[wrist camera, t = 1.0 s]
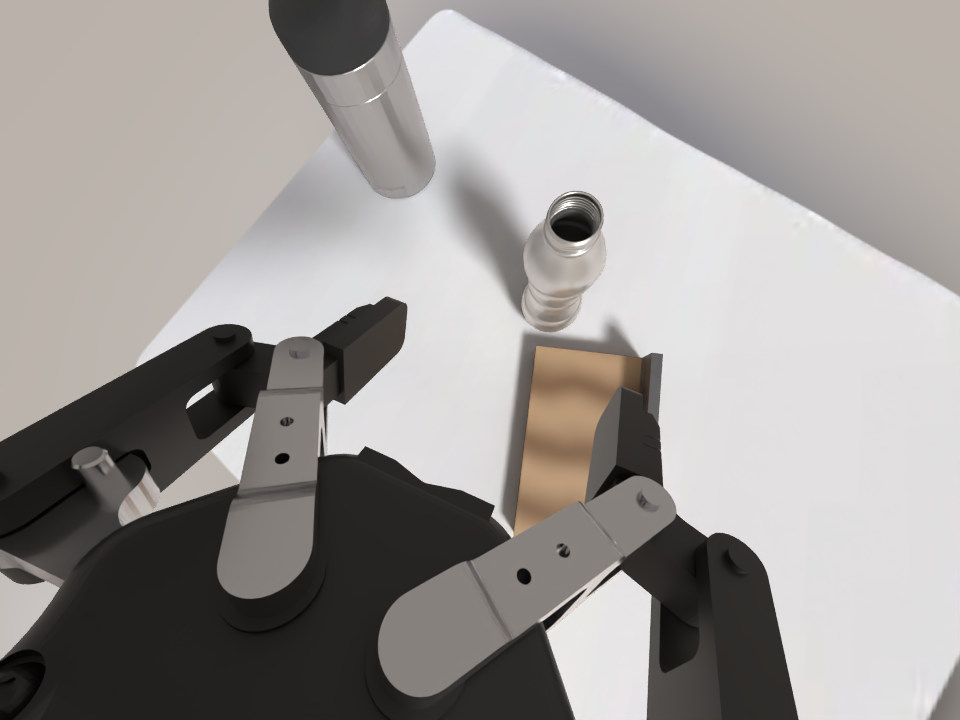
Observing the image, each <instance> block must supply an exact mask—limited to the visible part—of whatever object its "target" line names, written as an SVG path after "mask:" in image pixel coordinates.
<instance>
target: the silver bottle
mask: <svg viewBox="0 0 960 720" xmlns="http://www.w3.org/2000/svg"><path fill="white" fill-rule="evenodd" d="M603 217H604V214H603V209H602V206H601V204H600V203H599V201H598V200H597V199H596V198H595V197H594V196H592V195H591V194H589V193H586V192H582V191H571V192H567V193H564V194H562V195H561V196H559V197H558V198H557V199H555V200H554V202H553V203H552V204H551V206H550V208H549V210H548V213H547V217H546V219H544V220H543V221H542V222H541V223H539V224H538V225H537V226H536V228H535V229H534V230H533V231H532V233H531V234H530V236H529V238H528V239H527V241H526V244H525V248H524V254H523V260H524V268H525V272H526V275H527V277H528V284H527V286H526V288H525V290H524V292H523V296H522V302H521V305H522V311H523V314H524V316H525V318H526V320H527V321H528V322H529V323H530V325H531V326H533V327H534V328H535V329H537V330H539V331H543V332H557V331H560V330H562V329H564V328H566V327H568V326H569V325H570V324H571V323H572V322H573V321H574V320H575V319H576V318H577V316H578V314H579V311H580V308H581V300H582V294H583V293H584V292H585V291H586V290H587V289H588V288H590V287H591V286H592V285H593V284H594V282H595V281H596V280H597V279H598V277H599V276H600V275H601V273H602V271H603V269H604V266H605V262H606V245H605V239H604V236H603V234H602V232H601V228H602V225H603Z"/></svg>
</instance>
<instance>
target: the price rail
mask: <svg viewBox="0 0 960 720" xmlns="http://www.w3.org/2000/svg"><path fill="white" fill-rule="evenodd" d="M662 359H663V354H658V353H651V354H649V355H647V356H645V357H643V358H642V362H641V375H640V388H639V393H640V394H642V395H643V411H646V412H648V413H651V414H653V416H654V418H655V420H656V421H657V423H658V418H659V403H660V388H661V374H662Z"/></svg>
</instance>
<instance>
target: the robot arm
mask: <svg viewBox="0 0 960 720" xmlns="http://www.w3.org/2000/svg"><path fill="white" fill-rule="evenodd" d="M269 15H270V19H271V22H272V25H273V28H274V30H275V32H276V34H277V36H278V38H279V39H280V41H281V43H282V44H283V46H284V48H285V49H286V51H287V52H288V54H289V55H290V57H291V58H292V60H293V62H294V63H295V65H296V67H297V68H298V70H299V71H300V73H301V75H302V76H303V77H304V79H305V81H306V82H307V84H308V86H309V87H310V89H311V90H312V92H313V93H314V95H315V97H316V98H317V100H318V102H319V103H320V105H321V106H322V108H323V109H324V111H325V113H326V114H327V116H328V118H329V119H330V121H331V122H332V124H333V125H334V127H335V129H336V130H337V132H338V134H339V135H340V137H341V138H342V140H343V142H344V143H345V145H346V146H347V148H348V150H349V151H350V153H351V154H352V156H353V158H354V159H355V161H356V162H357V164H358V166H359V167H360V169H361V170H362V172H363V174H364V175H365V177H366V178H367V180H368V182H369V183H370V185H371V186H372V187H373V189H374V190H375V191H377V192H378V193H379V194H381V195H383V196H386V197H389V198H405V197H409V196H412V195H414V194H416V193H418V192H419V191H421V190H422V189H423V188H424V187H425V186H426V185H427V184H428V183H429V181H430V179H431V178H432V176H433V173H434V170H435V156H434V153H433V150H432V147H431V143H430V140H429V136H428V132H427V129H426V126H425V123H424V120H423V116H422V113H421V110H420V107H419V104H418V100H417V97H416V94H415V91H414V88H413V85H412V81H411V78H410V75H409V72H408V69H407V66H406V63H405V60H404V57H403V54H402V50H401V47H400V45H399V41H398V38H397V35H396V32H395V29H394V26H393V22H392V19H391V16H390V13H389V10H388V6H387V3H386V0H269ZM406 319H407V305H406V303H403V302H401V301H398V300H395V299H393V298H390V297H385V298H383V299H382V300H380V301H379V302H378V303H376V304H375V305H372V304H368V305H365V306H361V307H358V308H356V309H354V310H353V311H351V312H350V313H348V314H347V316H346V315H345V316H344V317H342V318H341V319H340V320H339V321H337V322H335V323H334V324H332V325H331V326H329V327H328V328H326V329H325V330H323V331H322V332H320V333H319V334H317V335H316V336H314V337H313V338H310V337H292V338H288V339H285V340H283V341H281V342H280V343H279V344H277V345H270V344H264V343H258V342H253V338H252V334H251V331H250V330H249V329H247V328H246V327H244V326H240V325H235V324H224V325H217V326H214V327H211V328H208V329H206V330H204V331H202V332H201V333H199V334H197V335H195V336H193V337H191V338H190V339H188V340H186V341H184V342H182V343H180V344H179V345H177V346H175V347H173V348H171V349H169V350H168V351H166V352H164V353H162V354H160V355H158V356H157V357H155V358H153V359H151V360H149V361H147V362H146V363H144V364H142V365H140V366H138V367H136V368H135V369H133V370H131V371H129V372H127V373H126V374H124V375H122V376H120V377H118V378H116V379H114V380H113V381H111V382H109V383H107V384H105V385H103V386H102V387H100V388H98V389H96V390H94V391H92V392H91V393H89V394H87V395H85V396H83V397H81V398H80V399H78V400H76V401H74V402H72V403H70V404H69V405H67V406H65V407H63V408H61V409H59V410H58V411H56V412H54V413H52V414H50V415H48V416H47V417H45V418H43V419H41V420H39V421H37V422H36V423H34V424H32V425H30V426H28V427H27V428H25V429H23V430H21V431H19V432H17V433H16V434H14V435H12V436H10V437H8V438H7V439H4V440H3V441H1V442H0V572H1V573H3V574H4V575H5V576H7V577H8V578H10V579H11V580H12V581H14V582H16V583H19V584H36V583H41V582H44V581H47V582H49V583H51V584H54V585H56V586H58V587H59V588H60V589H59V590H58V592H57V594H56V595H55V597H54V598H53V600H52V601H51V602H50V604H49V605H48V607H47V608H46V610H45V611H44V612H43V614H42V615H41V616H40V617H39V619H38V620H37V621H36V622H35V623H34V625H33V626H32V627H31V628H30V630H29V631H28V632H27V633H26V634H25V635H24V636H23V638H22V639H21V640H20V641H19V642H18V643H17V644H16V645H15V646H14V647H13V648H12V649H11V650H10V651H9V652H8V653H7V654H6V655H5V656H4V657H3V658H2V659H1V660H0V720H575V717H574V714H573V711H572V708H571V705H570V702H569V699H568V696H567V693H566V691H565V688H564V685H563V682H562V679H561V676H560V673H559V670H558V667H557V664H556V661H555V658H554V655H553V652H552V649H551V646H550V643H549V640H548V637H547V634H546V633H547V632H548V631H549V630H551V629H552V628H553V627H554V626H556V625H557V624H558V623H559V622H561V621H562V620H563V619H564V618H565V617H566V616H568V615H569V614H570V613H571V612H572V611H573V610H574V609H575V608H576V607H578V606H579V605H580V604H581V603H582V602H584V601H585V600H586V599H587V598H589V597H590V596H591V595H592V594H594V593H595V592H596V591H597V590H599V589H600V588H601V587H603V586H604V585H605V584H606V583H608V582H609V581H610V580H611V579H613V578H614V577H615V576H616V575H618V574H619V573H620V572H621V571H624V572H625V573H626V574H627V575H628V576H630V577H631V578H632V579H633V580H634V581H636V582H637V583H638V584H639V585H640V586H642V587H643V588H644V589H645V590H646V591H648V592H649V593H650V594H651V595H652V599H651V624H650V650H649V675H648V701H647V720H799V719H798V715H797V710H796V705H795V701H794V696H793V691H792V687H791V682H790V677H789V673H788V668H787V663H786V659H785V654H784V649H783V645H782V640H781V635H780V631H779V626H778V622H777V617H776V612H775V608H774V603H773V598H772V594H771V589H770V584H769V580H768V575H767V572H766V570H765V568H764V566H763V564H762V562H761V561H760V559H759V558H758V556H757V555H756V554H755V553H754V552H753V551H752V550H751V549H750V548H749V547H748V546H747V545H746V544H744V543H743V542H742V541H740V540H739V539H737V538H735V537H733V536H731V535H729V534H725V533H715V534H712V535H711V536H710V537H709V538H707V537H706V536H705V535H703V534H702V533H700V532H699V531H698V530H696V529H695V528H693V527H692V526H691V525H689V524H688V523H687V522H685V521H684V520H683V519H682V518H680V517H679V516H678V515H677V514H676V506H675V503H674V501H673V499H672V497H671V496H670V494H669V493H668V492H667V491H666V490H665V489H664V488H663V477H662V459H661V452H660V450H661V442H660V427H659V425H658V423H657V421H656V420H655V418H654V416H653V414H651V413H648V412H646V411H643V395H642V394H640V393H638V392H635V391H633V390H630V389H627V388H625V387H622V386H619V387H618V388H617V390H616V391H615V393H614V395H613V397H612V398H611V400H610V402H609V403H608V405H607V407H606V409H605V410H604V412H603V414H602V415H601V417H600V419H599V421H598V424H597V427H596V430H595V434H594V441H593V448H592V454H591V461H590V468H589V475H588V482H587V488H586V495H585V502H584V505H583V504H582V503H581V501H577V502H574V503H572V504H571V505H569V506H567V507H565V508H564V509H562V510H560V511H558V512H557V513H555V514H553V515H551V516H550V517H548V518H546V519H544V520H543V521H541V522H539V523H537V524H536V525H534V526H532V527H530V528H529V529H527V530H525V531H523V532H522V533H520V534H518V535H516V536H515V537H513V538H511V537H510V536H509V534H508V533H507V532H506V530H505V529H504V528H503V527H502V526H501V525H500V524H499V523H498V522H497V521H496V520H495V519H493V518H492V517H491V515H492V512H493V510H494V507H495V506H494V505H492V504H490V503H488V502H485V501H483V500H481V499H479V498H477V497H475V496H472V495H470V494H468V493H466V492H464V491H461V490H456V489H451V488H447V487H442V486H437V485H432V484H427V483H424V482H422V481H421V480H419V479H418V478H417V477H416V476H415V475H413V474H412V473H411V472H410V471H408V470H407V469H406V468H405V467H403V466H402V465H401V464H400V463H399V462H397V461H396V460H394V459H392V458H390V457H388V456H385V455H383V454H381V453H379V452H377V451H375V450H372V449H370V448H368V447H366V446H365V447H364V449H363V450H362V451H361V452H360V453H359V455H352V454H335V455H327V437H328V404H329V403H330V402H331V401H332V400H335V401H338V402H340V403H342V404H344V405H345V404H346V403H347V402H348V401H349V400H350V399H351V398H352V397H353V396H354V395H356V394H357V393H358V392H359V391H360V390H361V389H362V388H363V387H364V386H365V385H366V384H367V383H368V382H369V381H370V380H371V379H372V378H373V377H374V376H375V375H376V374H377V373H378V372H379V371H380V370H381V369H382V368H383V367H384V366H385V365H386V364H387V363H388V362H389V361H390V360H391V359H392V358H393V357H394V356H395V355H396V354H397V353H398V352H399V351H400V349H401V347H402V345H403V343H404V339H405V329H406ZM211 383H212V385H213V388H214V390H213V391H211V392H210V393H208V394H207V395H206V396H204V397H203V398H201V399H200V400H198V401H197V402H196V403H194V404H193V405H191V406H190V407H189V408H187V409H186V405H187V403H188V401H189V400H190V398H191V397H192V396H193V395H195V394H196V393H198V392H199V391H200V390H202V389H203V388H205V387H206V386H208V385H209V384H211ZM254 413H255V415H254V419H253V424H252V429H251V433H250V438H249V443H248V448H247V452H246V457H245V462H244V466H243V471H242V476H241V481H240V484H238V485H234V486H232V487H228V488H225V489H222V490H219V491H216V492H214V493H211V494H207V495H204V496H202V497H198V498H196V499H193V500H190V501H186V502H184V503H181V504H178V505H174V506H171V507H169V508H166V509H163V510H160V511H157V512H154V513H151V512H152V511H153V510H154V508H155V507H156V505H157V503H158V501H159V498H160V493H161V492H162V491H163V490H164V489H166V488H167V487H168V486H169V485H170V484H171V483H173V482H174V481H175V480H176V479H177V478H178V477H180V476H181V475H182V474H183V473H184V472H185V471H187V470H188V469H189V468H190V467H191V466H192V465H194V464H195V463H196V462H197V461H198V460H200V459H201V458H202V457H203V456H204V455H205V454H206V453H208V452H209V451H210V450H211V449H213V448H214V447H215V446H216V445H217V444H218V443H220V442H221V441H222V440H223V439H224V438H225V437H227V436H228V435H229V434H230V433H231V432H232V431H234V430H235V429H236V428H237V427H238V426H240V425H241V424H242V423H243V422H244V421H245V420H247V419H248V418H249V417H250V416H251V415H252V414H254ZM150 513H151V514H150Z"/></svg>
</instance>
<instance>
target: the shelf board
mask: <svg viewBox="0 0 960 720" xmlns="http://www.w3.org/2000/svg"><path fill="white" fill-rule="evenodd" d="M641 362H642V358H638V357H629V356H621V355H612V354H604V353H595V352H586V351H578V350H569V349H561V348H552V347H543V346H536V350H535V358H534V366H533V375H532V383H531V391H530V400H529V408H528V416H527V425H526V433H525V442H524V450H523V458H522V467H521V475H520V483H519V492H518V500H517V509H516V517H515V525H514V537H515V536H516V535H518V534H520V533H522V532H523V531H525V530H527V529H529V528H530V527H532V526H534V525H536V524H537V523H539V522H541V521H543V520H544V519H546V518H548V517H550V516H551V515H553V514H555V513H557V512H558V511H560V510H562V509H564V508H565V507H567V506H569V505H571V504H572V503H574V502H577V501H581V503H582V504H583V505H584V502H585V495H586V488H587V482H588V475H589V468H590V461H591V454H592V448H593V441H594V434H595V430H596V427H597V424H598V421H599V419H600V417H601V415H602V414H603V412H604V410H605V409H606V407H607V405H608V403H609V402H610V400H611V398H612V397H613V395H614V393H615V391H616V390H617V388H618V387H619V386H622V387H625V388H627V389H630V390H633V391H635V392H638V393H639V388H640V375H641Z"/></svg>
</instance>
